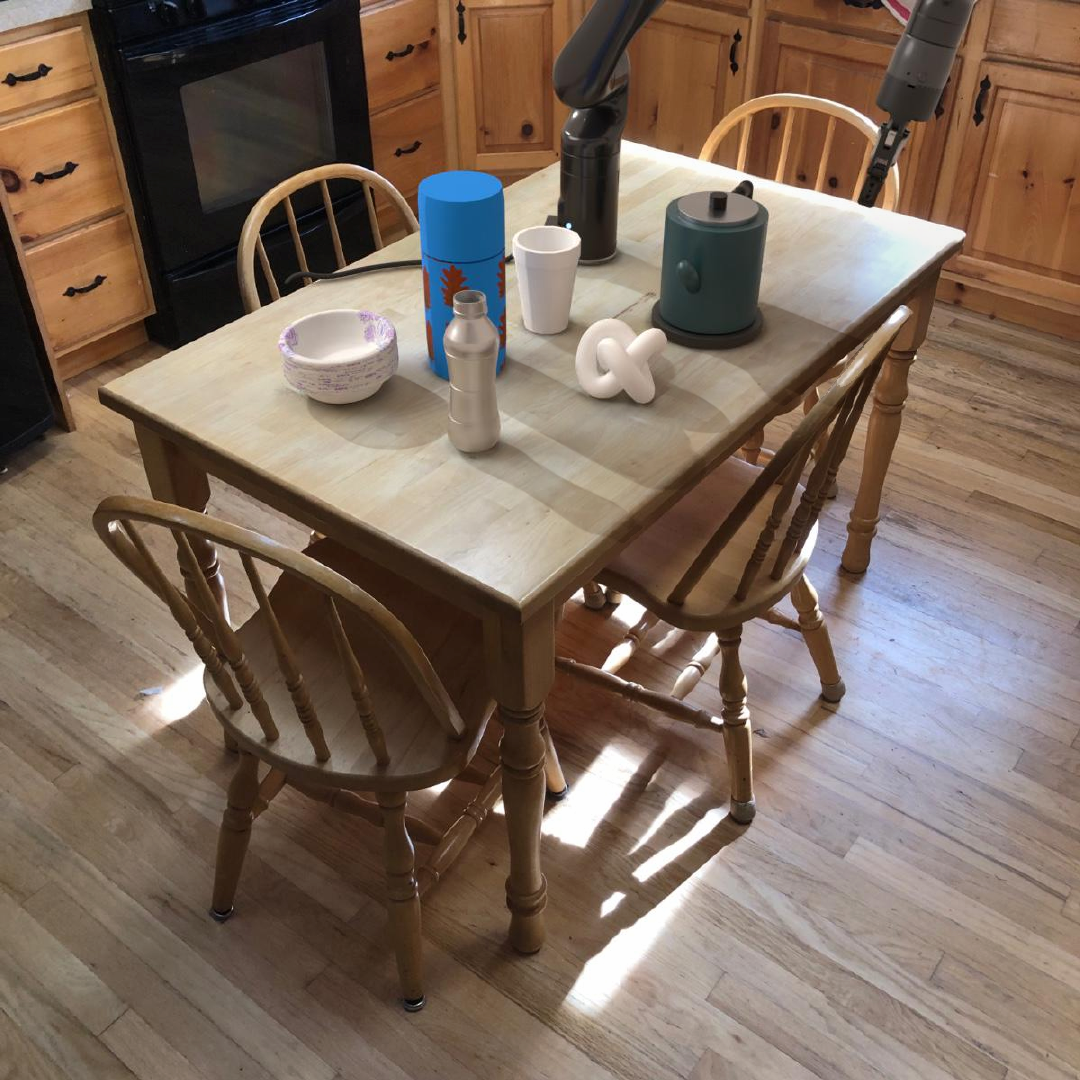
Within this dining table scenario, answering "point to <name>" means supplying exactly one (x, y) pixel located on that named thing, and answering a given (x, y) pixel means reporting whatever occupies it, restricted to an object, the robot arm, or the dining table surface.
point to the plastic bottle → (472, 374)
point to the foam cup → (546, 275)
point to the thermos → (461, 253)
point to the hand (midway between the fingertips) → (868, 198)
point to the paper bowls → (339, 354)
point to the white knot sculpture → (618, 360)
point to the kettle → (713, 260)
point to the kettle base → (707, 340)
